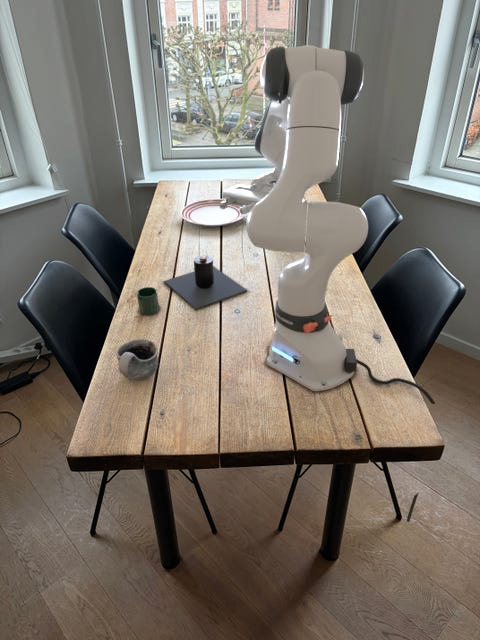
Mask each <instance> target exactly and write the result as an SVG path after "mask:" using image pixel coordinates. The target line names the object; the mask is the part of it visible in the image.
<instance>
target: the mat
mask: <svg viewBox="0 0 480 640" xmlns="http://www.w3.org/2000/svg"><path fill="white" fill-rule="evenodd" d="M213 272H214V284H213V285H212V286H211V287H209V288H206V289H203V288H199V287H198V286H197V285H196V284H195V272H194V271H191V272H188V273H185V274H182V275H179V276H176V277H173V278H169V279H166V280H164V281H163V282H164V284H165V285H166V286H168V287H169V289H171V290H172V291H173V292H175V293H176V295H178V296H179V297H180V298H182V300H184V301H185V302H186V303H187V304H189V305H190V306H191V307H192V308H193V309H194V310H195V311H197V310H200V309H203V308H206V307H208V306H211V305H214V304H217V303H219V302H222V301H225V300H228V299H231V298H233V297H236V296H239V295H241V294H244V293H246V292H248V291H247V289H246V288H244V287H243V286H242V285H241V284H239V283H238V282H236V281H235V280H233V279H232V278H230V277H229V276H227V275H226V274H225V273H224V272H222V271H221V270H219V269H218V268H216V267H214V266H213Z"/></svg>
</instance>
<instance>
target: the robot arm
mask: <svg viewBox="0 0 480 640" xmlns="http://www.w3.org/2000/svg"><path fill="white" fill-rule="evenodd" d="M259 78H260V85H261V87H262V90H263V94H264V96H265V97H267V99H268V102H267V105H266V108H265V110H264V113H263V117H262V121H261V123H260V126H259V129H258V130H257V133H256V135H255V137H254V150H255V151H256V152H257V154H259V155H260V156H262V157H263V158H264V159H265V160H266V161H268V162H269V163H270V164H271V165H272V166H273V167H274V168H273V169H271V171H266V172H265V173H262V174H261V175H259V176H257V177H255V178H253V179H252V181H251V182H250V185H245V184H236V185H234V186H231V187H230V188H228V189H225V190H224V191H222V193H221V195H222V199H223V202H221V203H220V204H219V206H220V209H225V208H227V205H235V206H239V207H241V208H240V209H239V211H240V214H244V215H245V214H246V213H247V214H248V215H247V214H246V215H247V218H246V222H245V229H246V234H247V237H248V239H249V241H250V242H251V244H252V245H253V246H254V247H256V248H260V249H262V250H267V251H271V252H280V253H298V254H304V256H303V257H302V258H299V259H298V260H295V261H292V262H291V263H289V264H288V265H286V266H285V267H284V268H283V269H282V270H281V271H280V273H279V275H278V282H277V300H276V302H275V306H274V317H275V324H274V328H273V331H272V336H271V342H270V345H269V349H268V353H269V355H268V356H267V358H266V365H267V366H269V367H270V368H272V369H274V370H275V371H278V372H279V373H281V374H283V375H284V376H286V377H288V378H290V379H291V380H293V381H295V382H297V383H298V384H300V385H302V386H303V387H305V388H307V389H309V391H310V390H311V391H312V392H323V391H327V390H330V389H333V388H336V387H338V386H340V385H342V384H344V383H345V382H347V381H348V380H350V379H351V378H352V377H353V376H354V374H355V373H356V371H357V365H360V366H362V367H363V368H365V369H366V371H367V375H368V378H369V379H370V380H371V381H373V382H374V383H376V384H379V385H380V384H381V385H389V384H392V383H395V382H399V383H404V384H407V385H410V386H412V387H414V388H416V389H417V390H418V391H420V392H421V393H422V394H423V395H424V396H425V397H426V398H427V399H428V401H429V402H430V403H431V404H432V405H435V404H436V402H435V401H434V399H433V398H432V396H431V395H430V394H429V392H427V391H426V390H425V388H423V387H422V386H421V385H419V384H418V383H415V382H413V381H411V380H407V379H404V378H399V377H393V378H391V379H388V380H381V379H377V378H376V377H374V376H373V374H372V370H371V368H370V366H369V365H368V364H367V363H365V362H363V361H361V360H359V359H357V356H356V352H355V348H346V345H345V344H344V343H343V337H342V335H341V334H340V333H336V330H335V329H334V328H333V326H332V325H331V323H330V321H331V320H332V319H333V318H332V317H333V315H332V314H330V315H329V314H328V309H327V306H326V302H325V301H326V295H327V290H328V284H329V280H330V278H331V275H332V274H333V272H334V270H335V269H336V268H337V266H338V265H339V264H340V263H341V262H342V261H343V260H345V259H346V258H347V257H349V256H351V255H352V254H353V255H354V254H355V253H356V252H358V251H359V250H360V249H361V248H362V247H363V245H364V243H365V242H366V240H367V238H368V233H369V222H368V217H367V215H366V213H365V212H364V211H363V209H362V208H361V207H360V206H356V205H352V204H348V203H344V202H340V201H316V200H315V201H313V200H312V201H311V200H306V198H305V194H306V192H307V191H308V190H309V189H310V188H312V187H314V186H317V185H319V184H321V183H323V182H325V181H327V180H329V179H330V178H332V177H333V175H334V174H335V173H336V171H337V169H338V164H339V153H340V142H341V139H340V138H341V127H342V105H349V104H352V103H353V102H354V101H355V100H356V99H357V98H358V97H359V94H360V92H361V89H362V87H363V84H364V81H365V69H364V61H363V59H362V57H361V56H360V54H358V53H357V52H354V51H351V50H347V49H344V50H338V49H332V48H326V47H318V46H316V45H312V44H311V45H310V44H306V45H301V46H292V47H285V46H284V45H283V46H277V47H273V48H270V49H269V50H268V51H267V53H266V54H265V57H264V59H263V61H262V64H261V67H260V75H259ZM282 121H285V122H286V129H285V128H283V126H282V124H281V123H282ZM418 496H419V492H417V493H416V494H415V495H413V498H412V501H411V505H410V508H409V510H408V514H407V518H406V522H407V523H410V522H411V517H412V514H413V511H414V508H415V505H416V502H417V499H418Z"/></svg>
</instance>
